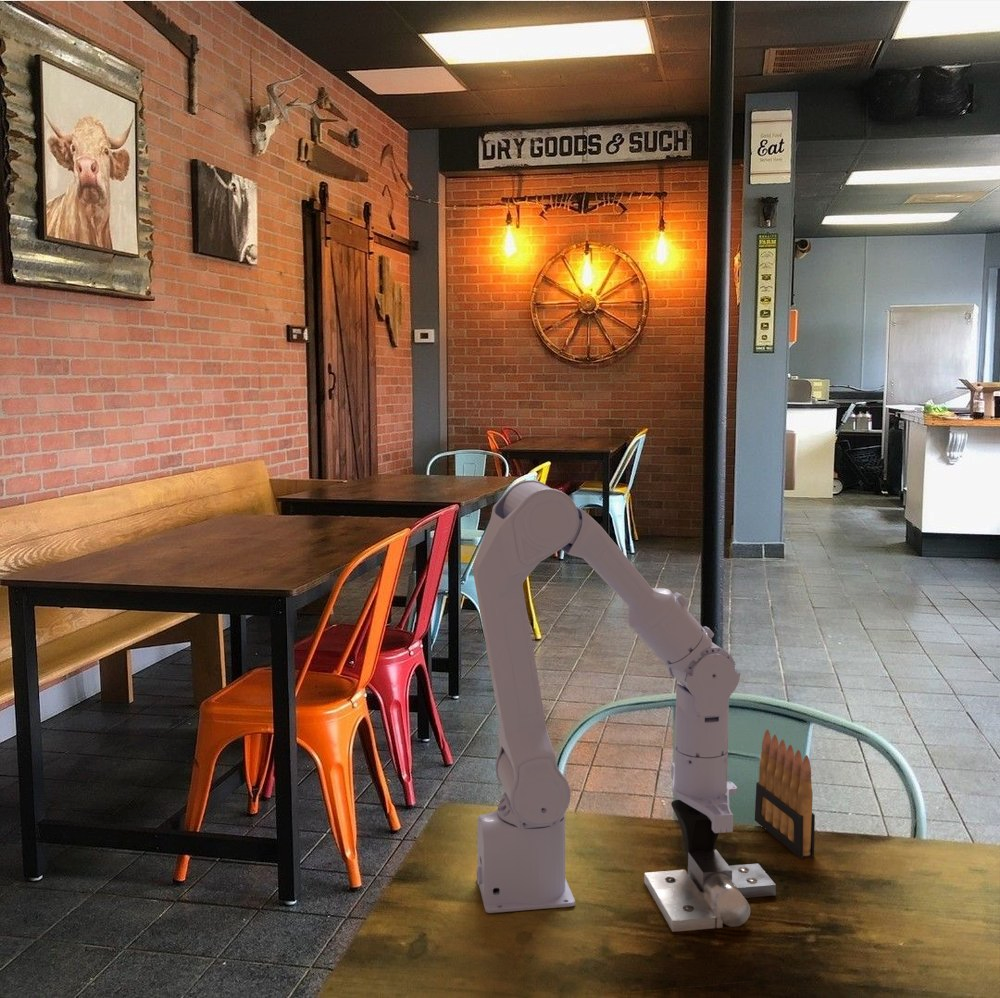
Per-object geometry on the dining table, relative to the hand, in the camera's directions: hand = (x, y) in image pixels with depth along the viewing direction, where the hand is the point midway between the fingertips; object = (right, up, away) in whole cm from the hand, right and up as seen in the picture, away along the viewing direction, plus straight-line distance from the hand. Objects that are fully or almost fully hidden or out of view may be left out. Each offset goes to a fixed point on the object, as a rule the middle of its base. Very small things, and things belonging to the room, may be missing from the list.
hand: (698, 866), depth 113 cm
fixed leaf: (-2, -2, -6) cm, 6 cm away
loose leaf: (+3, -1, -3) cm, 4 cm away
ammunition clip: (+12, 0, +9) cm, 15 cm away
